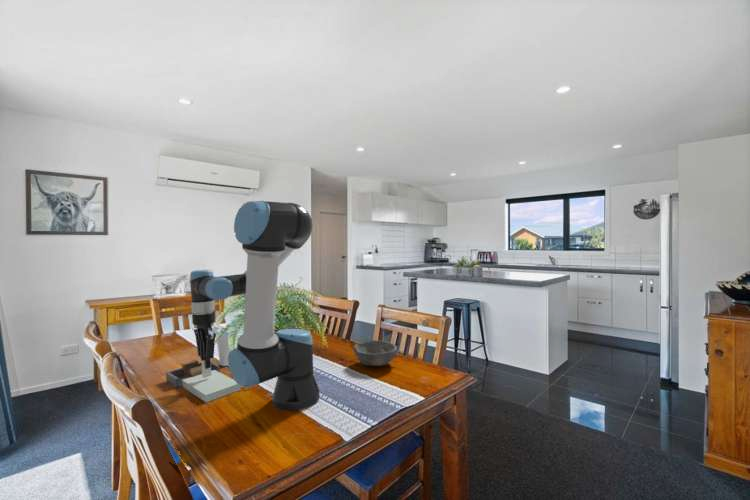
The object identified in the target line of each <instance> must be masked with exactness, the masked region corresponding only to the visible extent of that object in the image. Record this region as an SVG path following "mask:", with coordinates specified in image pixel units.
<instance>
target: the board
mask: <svg viewBox="0 0 750 500" xmlns="http://www.w3.org/2000/svg"><path fill="white" fill-rule="evenodd" d="M211 375H212V376H209V377H206V378H203V377H202V374H200V375H196V376H193V377H190V378H187V379H183V380H182V387H181V388H184V389H185V390H187V391H188V392H190V393H191V394H193V395H194V396H196V397H197V398H199V399H200V400H201V401H202V402H204V403H209V402H212V401H214V400H217V399H220V398H222V397H226V396H229V395H230V394H233V393H236V392H238V391H241V386H240V385H239V384H237V382H236V381H235V380H234V378H231V377H229V376H228V375H226V374H223V373H221V371H220V372H218V371H216V370H213V371H211Z"/></svg>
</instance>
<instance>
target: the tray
mask: <svg viewBox="0 0 750 500" xmlns="http://www.w3.org/2000/svg"><path fill="white" fill-rule="evenodd" d="M198 363H199V366H202V362H198ZM213 370H216V371H218V372H220V373H221V365H220V364H219V365H218V364H216V363H214V362H212V361H211V371H213ZM165 376H166V377H165V378H166V380H165V381H166V382H167V383H168V384H169V385H171V386H172V387H174V388H175V389H179V388H183V387H182V380H183V379H187V377H186V378H185V377H184V376H183V374H182V367H180V368H177V369H173V370H170V371H166V372H165Z"/></svg>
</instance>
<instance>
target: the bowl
mask: <svg viewBox="0 0 750 500" xmlns="http://www.w3.org/2000/svg"><path fill="white" fill-rule="evenodd" d="M353 351H354V355H355V357H356V358H357V359H358V361H359V362H360V363H361V365H364V366H371V367H373V366H374V367H382V366H385V365H388V364H390V363H391V362H392V361H393V360H394V359H395V357H396V355H397V351H398V347H397V345H395V344H394V343H392V342H390V341H386V340H370V341H364V342H359V343H355V344H354V345H353Z"/></svg>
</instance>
